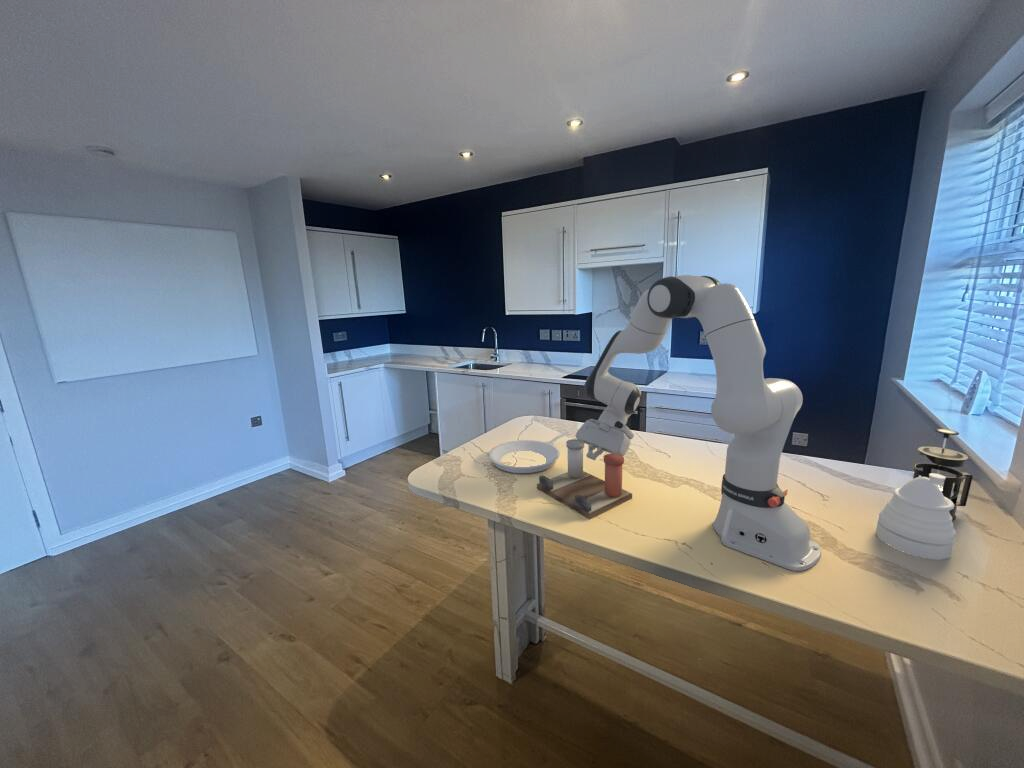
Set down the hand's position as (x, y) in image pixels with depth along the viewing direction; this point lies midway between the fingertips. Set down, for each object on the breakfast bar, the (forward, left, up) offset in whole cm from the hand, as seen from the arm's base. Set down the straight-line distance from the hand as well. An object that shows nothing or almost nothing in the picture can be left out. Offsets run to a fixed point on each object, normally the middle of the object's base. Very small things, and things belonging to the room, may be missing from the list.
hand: (590, 458), depth 136 cm
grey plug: (0, +7, -4) cm, 8 cm away
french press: (-74, -52, -6) cm, 91 cm away
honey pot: (-74, -31, -6) cm, 81 cm away
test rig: (-8, +12, -6) cm, 15 cm away
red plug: (-16, +7, -4) cm, 18 cm away
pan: (+24, +4, -6) cm, 25 cm away
